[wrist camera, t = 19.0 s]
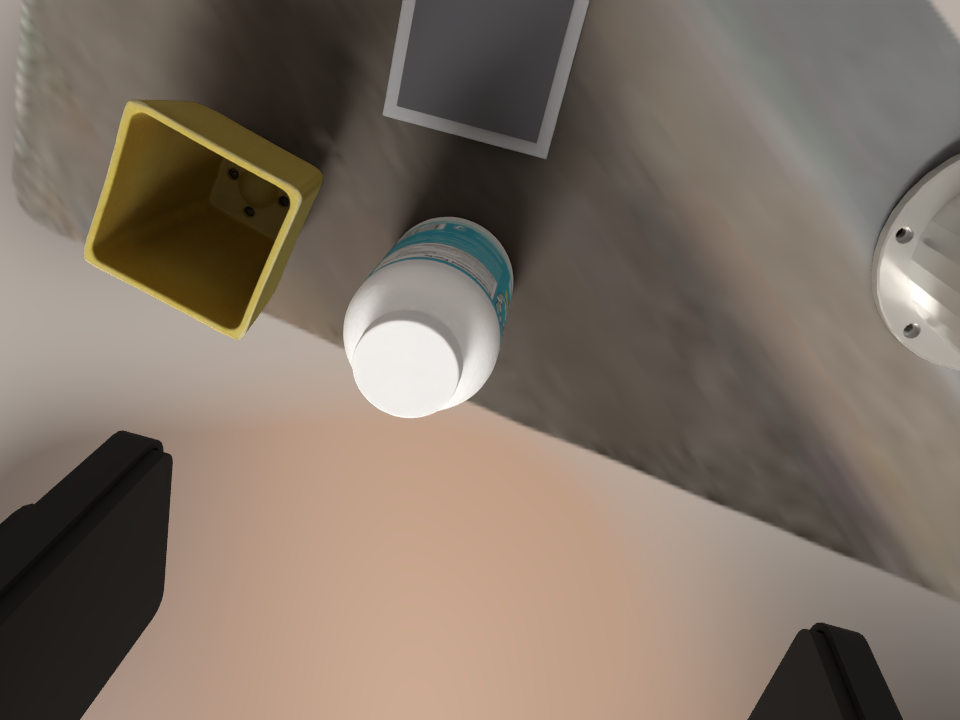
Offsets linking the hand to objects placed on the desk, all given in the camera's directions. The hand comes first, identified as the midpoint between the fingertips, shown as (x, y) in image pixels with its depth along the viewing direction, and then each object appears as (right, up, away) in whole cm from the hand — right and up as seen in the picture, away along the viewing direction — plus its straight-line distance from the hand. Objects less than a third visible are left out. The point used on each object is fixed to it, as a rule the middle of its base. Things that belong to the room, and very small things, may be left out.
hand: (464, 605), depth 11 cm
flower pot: (-13, +14, +33) cm, 37 cm away
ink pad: (+1, +20, +28) cm, 34 cm away
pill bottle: (-1, +9, +33) cm, 34 cm away
